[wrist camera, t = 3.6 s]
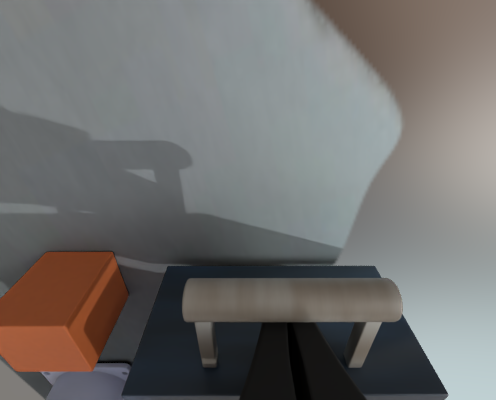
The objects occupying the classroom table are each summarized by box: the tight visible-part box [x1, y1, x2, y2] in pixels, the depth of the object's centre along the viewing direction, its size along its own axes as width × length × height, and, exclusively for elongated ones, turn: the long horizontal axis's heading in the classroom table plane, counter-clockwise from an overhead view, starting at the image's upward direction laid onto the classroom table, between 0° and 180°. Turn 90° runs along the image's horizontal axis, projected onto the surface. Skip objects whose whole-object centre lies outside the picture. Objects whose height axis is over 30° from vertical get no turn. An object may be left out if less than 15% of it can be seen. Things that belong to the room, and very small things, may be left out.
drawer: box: [121, 266, 448, 400], centre depth 15 cm, size 17×13×7 cm
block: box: [0, 252, 129, 372], centre depth 15 cm, size 4×4×5 cm
